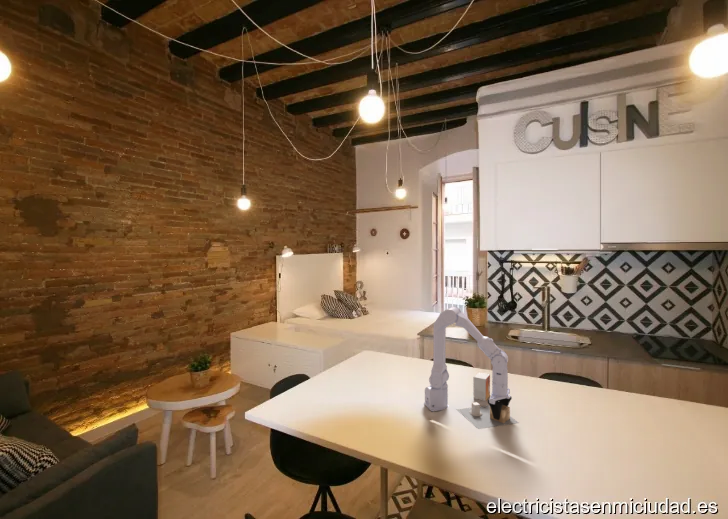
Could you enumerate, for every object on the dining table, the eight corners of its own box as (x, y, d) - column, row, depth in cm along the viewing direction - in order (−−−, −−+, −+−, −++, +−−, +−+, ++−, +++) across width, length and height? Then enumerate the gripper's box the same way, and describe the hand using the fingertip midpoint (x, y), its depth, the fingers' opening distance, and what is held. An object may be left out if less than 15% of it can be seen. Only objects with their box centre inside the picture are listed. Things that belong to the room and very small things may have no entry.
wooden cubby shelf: (503, 423, 128) (503, 410, 128) (489, 418, 132) (489, 406, 132) (509, 418, 132) (509, 406, 132) (496, 413, 136) (496, 401, 136)
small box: (485, 402, 147) (485, 379, 147) (473, 399, 151) (473, 376, 150) (490, 396, 154) (490, 374, 154) (478, 393, 157) (478, 371, 157)
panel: (478, 430, 124) (478, 418, 124) (456, 411, 139) (456, 400, 139) (519, 424, 128) (519, 412, 128) (493, 406, 144) (493, 395, 144)
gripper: (502, 390, 124) (501, 426, 124) (517, 380, 134) (517, 413, 134) (484, 385, 129) (484, 419, 129) (500, 375, 139) (500, 407, 139)
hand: (499, 416), depth 132 cm, fingers closed on wooden cubby shelf, 6 cm apart
